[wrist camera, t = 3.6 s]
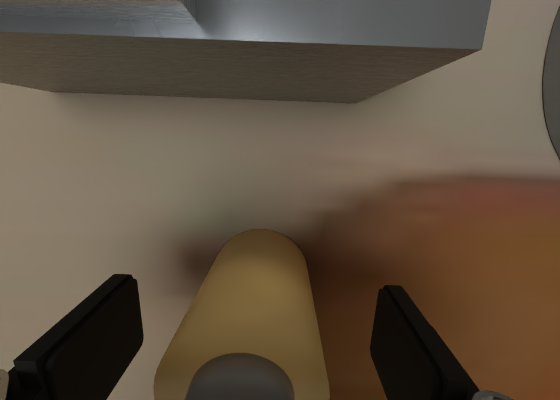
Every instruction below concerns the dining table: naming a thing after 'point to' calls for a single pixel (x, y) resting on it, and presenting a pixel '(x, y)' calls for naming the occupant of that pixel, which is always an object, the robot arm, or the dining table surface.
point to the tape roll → (553, 84)
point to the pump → (248, 329)
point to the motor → (234, 46)
